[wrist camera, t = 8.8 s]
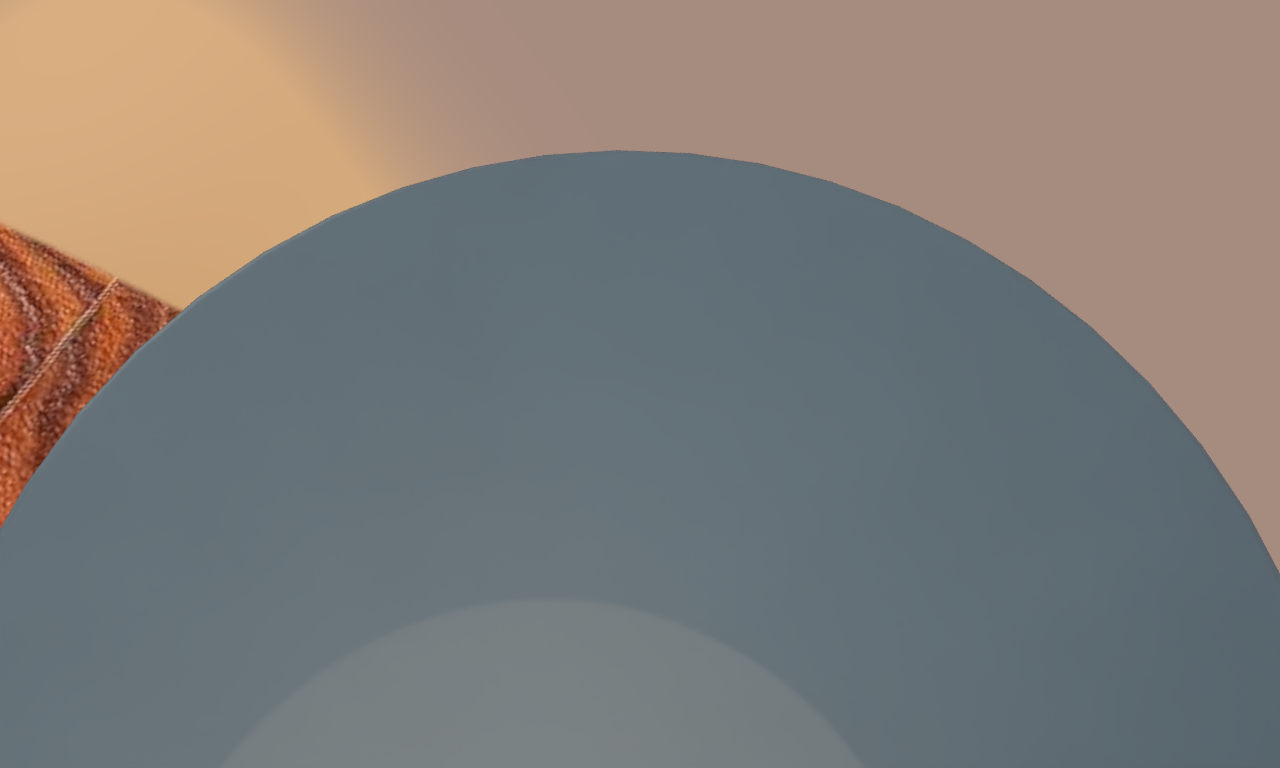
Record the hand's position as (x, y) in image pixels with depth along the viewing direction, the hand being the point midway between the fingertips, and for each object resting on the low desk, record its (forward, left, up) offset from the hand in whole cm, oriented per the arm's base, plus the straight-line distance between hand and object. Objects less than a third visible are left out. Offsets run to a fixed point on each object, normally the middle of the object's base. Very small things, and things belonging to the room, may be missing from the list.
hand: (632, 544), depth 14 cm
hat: (-3, +1, -2) cm, 4 cm away
